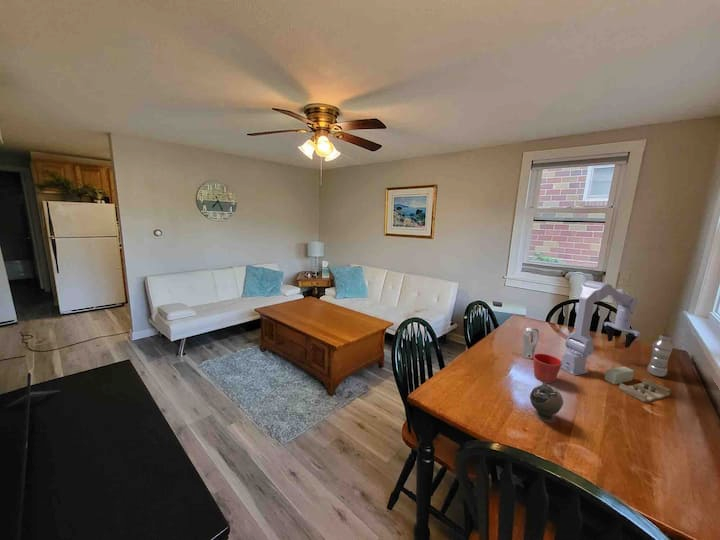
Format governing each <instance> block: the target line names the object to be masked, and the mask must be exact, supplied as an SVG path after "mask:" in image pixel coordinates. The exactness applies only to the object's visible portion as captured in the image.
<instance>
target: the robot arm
mask: <svg viewBox="0 0 720 540" xmlns="http://www.w3.org/2000/svg"><path fill="white" fill-rule="evenodd" d="M578 296H579V301H578V309H577V313H576V322H575V327H574V328H575V329H574V332H571V333H569V334H568V335H567V338H566V340H565V347H566V348H567V353H564V354H563V356H562V360H561V362H562V365H561V367H560V369H562V370H564V371H566V372H568V373H570V374H572V375H574V376H578V375H583V374H588V373H590V371H589V370H587V369H586V364H587V359H588V357H589V356H592V355H593V353H594V350H595V346H594V340H593V338H592V337H591V335H590V329H591V322H592V316H593V310H594V303H596V302H601V301H602V300H604V299H606V298H607V297H608V296H609V298H610V299H611V300H612V301H613V302H615V304H616V305H618V306H617V310H616V315H615V316H616V317H615V320H614V323H613V322H610V321H605V322H604V323H603V326H604V328H603V329H604V330H605V332H606V337H607V341H608V342H612V341H613V339H614V334H615V331H617V330H618V331H621V332H624V333H626V334H625V343H624V348H625V349H628V348H630V346H631V344H632V343H633V342H634V341H635V340H636V339H637V338H638V337H640V336H641V332H640V331H637V330H635V329H633V328H630V327H631V323H632V318H633V314H634V312H635V310H636V308H637V307H638V304H639V300H638V298H637V297H636V296H632V295H631V296H630V294H629V293H627V292H625V290H624V289H622V288H621V289H620V288H619V289H616V288H614V287H613V285H612V284H610V283H605V282H600V281H595V280H591V279H585V280H583V282H582V283H581V284H580V287H579V293H578Z"/></svg>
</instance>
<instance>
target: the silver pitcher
mask: <svg viewBox="0 0 720 540" xmlns="http://www.w3.org/2000/svg"><path fill="white" fill-rule="evenodd" d="M539 336H540V330H539V329H537V328H535V327H530V326H528V327H524V329H523V335H522V351H521V356H522V357H523V358H524V359H525V358H526V359H528V360H529V359H530V360H533V356H534V355H535V351H536V347H537V345H538V342H539Z"/></svg>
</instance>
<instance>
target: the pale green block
mask: <svg viewBox="0 0 720 540" xmlns="http://www.w3.org/2000/svg"><path fill="white" fill-rule="evenodd" d="M634 374H635V370H633V369H631V368H629V367H626V366H620V367H619V366H618V367H614V368H609V369H606V371H605V374H604V375H605V376H604V380H605V381H607V382H608V383H610V384H612V385H618V384H620V383H622V382H623V383H627V382H630V381H633V379H634ZM623 383H622V384H623Z"/></svg>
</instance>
